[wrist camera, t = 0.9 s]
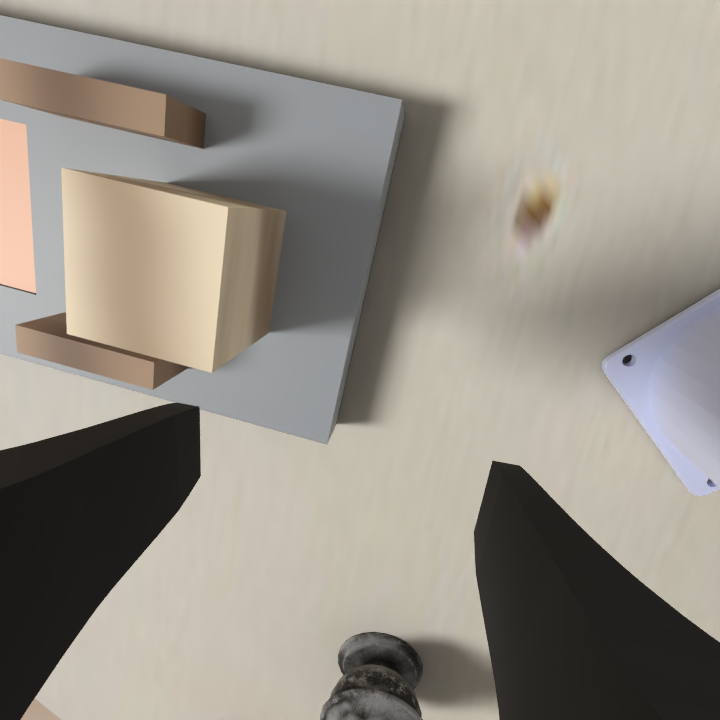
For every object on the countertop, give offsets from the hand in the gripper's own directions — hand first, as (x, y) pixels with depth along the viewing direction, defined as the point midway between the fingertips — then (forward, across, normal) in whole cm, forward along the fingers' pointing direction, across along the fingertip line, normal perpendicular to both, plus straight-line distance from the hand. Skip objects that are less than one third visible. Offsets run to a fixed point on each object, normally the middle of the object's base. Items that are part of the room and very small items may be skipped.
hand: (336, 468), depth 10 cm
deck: (+10, +14, -4) cm, 18 cm away
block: (+8, +7, -3) cm, 11 cm away
